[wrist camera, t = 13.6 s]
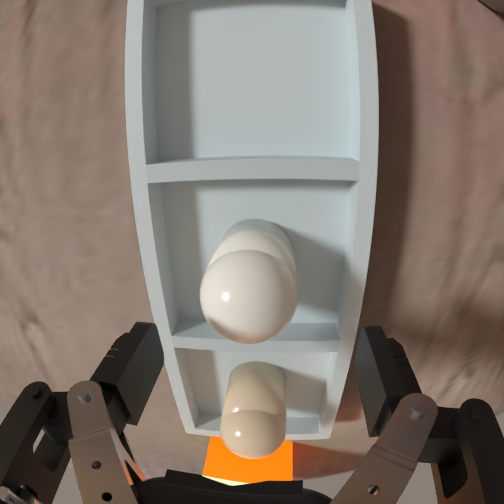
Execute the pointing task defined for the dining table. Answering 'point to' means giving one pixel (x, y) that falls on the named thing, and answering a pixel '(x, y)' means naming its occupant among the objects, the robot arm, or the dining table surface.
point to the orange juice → (247, 465)
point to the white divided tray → (254, 182)
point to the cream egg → (250, 283)
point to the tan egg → (254, 410)
